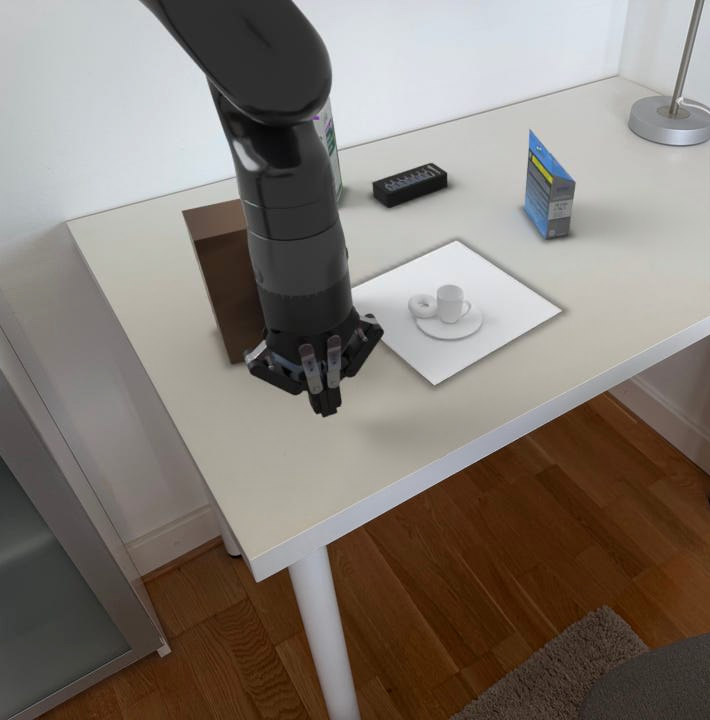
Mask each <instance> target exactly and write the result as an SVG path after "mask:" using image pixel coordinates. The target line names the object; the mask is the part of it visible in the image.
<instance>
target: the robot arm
mask: <svg viewBox="0 0 710 720" xmlns="http://www.w3.org/2000/svg"><path fill="white" fill-rule="evenodd" d="M138 1H139V2H140V3H141V5H143V6H144V7H145V8H146V9H147V10H149V11H150V13H152V14H153V16H154V17H155V18H156V19H157V21H158V22H160V24H161V25H162V26H163V27H164V29H165V30H166V31H167V32H168V33H169V35H170V36H171V37H172V38H173V39H174V40H175V42H176V43H177V44H178V45H179V46H180V48H181V49H182V50H183V51H184V52H185V53H186V55H187V56H188V57H189V58H190V59H191V61H192V62H194V64H195V65H196V67H198V68H199V70H200V71H201V72H202V73H203V74H204V76H205V79H206V83H207V86H208V90H209V92H210V95H211V98H212V101H213V105H214V108H215V110H216V113H217V116H218V119H219V122H220V125H221V128H222V131H223V134H224V136H225V139H226V142H227V144H228V147H229V151H230V155H231V157H232V158H231V159H232V162H233V167H234V173H235V180H236V181H235V182H236V185H237V190H238V196H239V199H240V200H241V204H242V209H243V213H244V217H245V221H246V227H247V239H248V248H249V254H250V258H251V262H252V267H253V271H254V275H255V280H256V284H257V288H258V292H259V297H260V301H261V305H262V309H263V313H264V318H265V327H264V329H263V332H262V337H263V339H264V341H263V342H262V343H261V344H260V345H259V346H258V347H257V348H256V349H253V348H249V349H246V350H245V351H244V353H243V357H244V359H245V360H244V362H245V364H246V367H247V369H248V371H249V374H250V375H251V376H252V377H255V378H257V379H259V380H261V381H263V382H265V383H267V384H269V385H271V386H273V387H276V388H277V389H279V390H282V391H283V392H286V393H287V394H290V395H292V396H299V395H301V394H302V393H303V392H307V396H308V402H309V404H310V406H311V409H312V411H313V413H315V414H316V415H321V417H322V418H323V419H324V418H326V417H329V416H330V417H331V416H333V415H336V414H338V408H340V407H342V404H343V400H342V394H341V388H340V384H341V382H342V381H343V380H344V379H345V378H348V379H351V378H354V377H356V375H358V373H359V372H360V370H361V368H362V367H363V366H364V364H365V363H366V362H367V360H368V358H369V356H370V355H371V354H372V353H373V351H374V350H375V348H376V346H377V345H378V344H379V342H380V341H381V337H382V336H383V334H384V330H383V329H382V327H381V326H380V324H379V322H378V321H377V319H376V318H375V316H374V315H373V314H371V313H369V314H366V315H365V316H362V315H359V313H358V312H357V311H356V309H355V307H354V306H353V301H352V292H351V289H352V286H351V277H350V270H349V269H350V268H349V251H348V249H349V248H348V247H347V245H346V238H345V237H346V236H345V233H344V232H345V231H344V228H343V226H342V225H343V224H342V222H341V218H340V213H339V206H338V203H337V197H336V189H335V181H334V174H333V168H332V164H331V160H330V157H329V154H328V152H327V149H326V147H325V146H324V144H323V142H322V140H321V139H320V137H319V135H318V133H317V131H316V128H315V125H314V122H313V118H314V117H315V116H316V115H317V114H318V113H319V112H320V111H321V110H322V109H323V107H324V105H325V104H326V102H327V100H328V97H330V94H331V90H332V86H333V67H332V61H331V57H330V53H329V50H328V48H327V46H326V44H325V42H324V39H323V38H322V36H321V34H320V33H319V31H318V30H317V29H316V28H315V26H314V24H312V22H311V21H310V20H309V18H308V17H307V16H306V15H305V14H304V12H303V11H302V10H301V9H300V8H299V7H298V5H297V4H296V3H295V2H294V0H138ZM273 352H274V353H276V354H277V355H279V356H281V357H283V358H284V359H286V360H288V361H289V362H291V363H293V364H295V365H298V366H300V369H301V372H295V370H293V369H292V368H290V367H288V366H286V365H284V364H282V363H280V362H278V361H276V359H275V357H274V355H273ZM318 362H319V367H320V371H321V374H322V375H321V376H320V373H319V369H318V366H317V363H318Z"/></svg>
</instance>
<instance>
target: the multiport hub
mask: <svg viewBox="0 0 710 720" xmlns="http://www.w3.org/2000/svg"><path fill="white" fill-rule="evenodd" d="M371 184H372V195H373V198H374V199H375V200H376V201H378V202H379V203H380V204H382V205H384V207H386V208H388V209H391V208H394V207H396V206H399V205H402V204H405V203H408V202H410V201H413V200H416V199H418V198H421V197H423V196H426V195H430V194H432V193H435V192H438V191H441V190H444V189H446V188H448V172H447V171H446V170H444V169H442V168H441V167H440V166H438V165H437V164H435V163H433V162H428V163H426V164H423V165H420V166H416V167H414V168H411V169H408V170H405V171H402V172H399V173H395V174H392V175H390V176H385V177H384V178H381V179H378V180H374V181H372V183H371Z"/></svg>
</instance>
